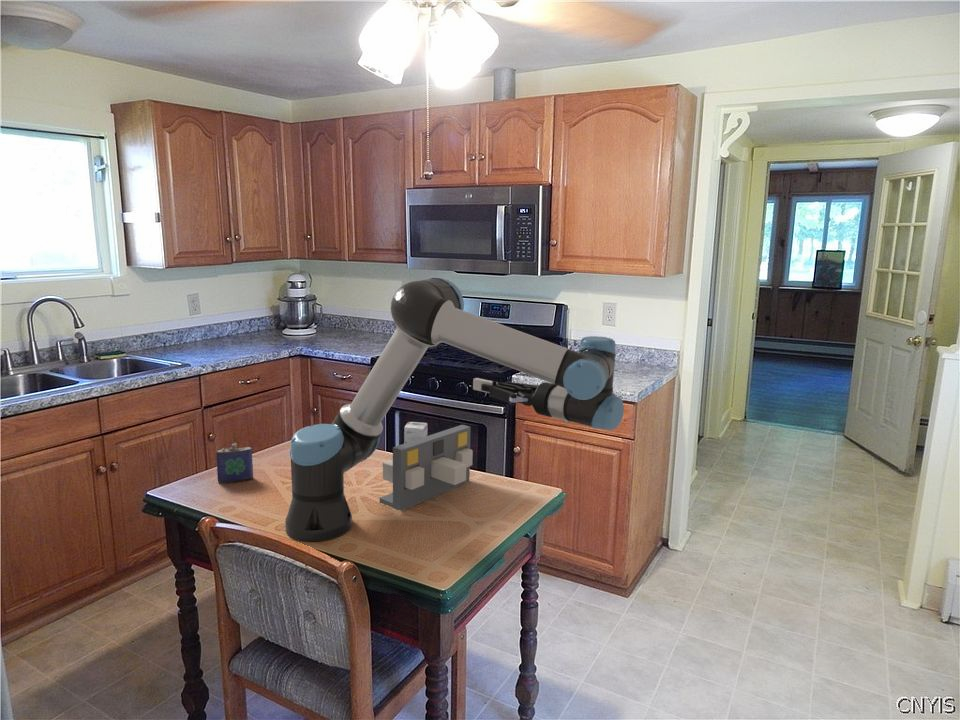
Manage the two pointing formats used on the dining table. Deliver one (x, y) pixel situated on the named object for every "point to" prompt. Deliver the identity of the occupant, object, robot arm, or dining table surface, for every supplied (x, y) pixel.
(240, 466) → the flask
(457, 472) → the button mid
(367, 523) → the dining table surface
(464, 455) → the button right
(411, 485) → the button left
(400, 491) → the light board
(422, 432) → the syrup box
